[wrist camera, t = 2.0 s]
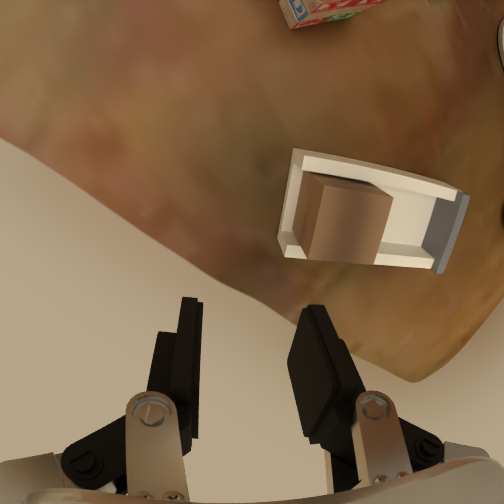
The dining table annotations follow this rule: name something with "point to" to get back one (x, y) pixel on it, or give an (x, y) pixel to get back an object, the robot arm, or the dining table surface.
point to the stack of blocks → (321, 10)
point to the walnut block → (340, 218)
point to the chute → (401, 213)
